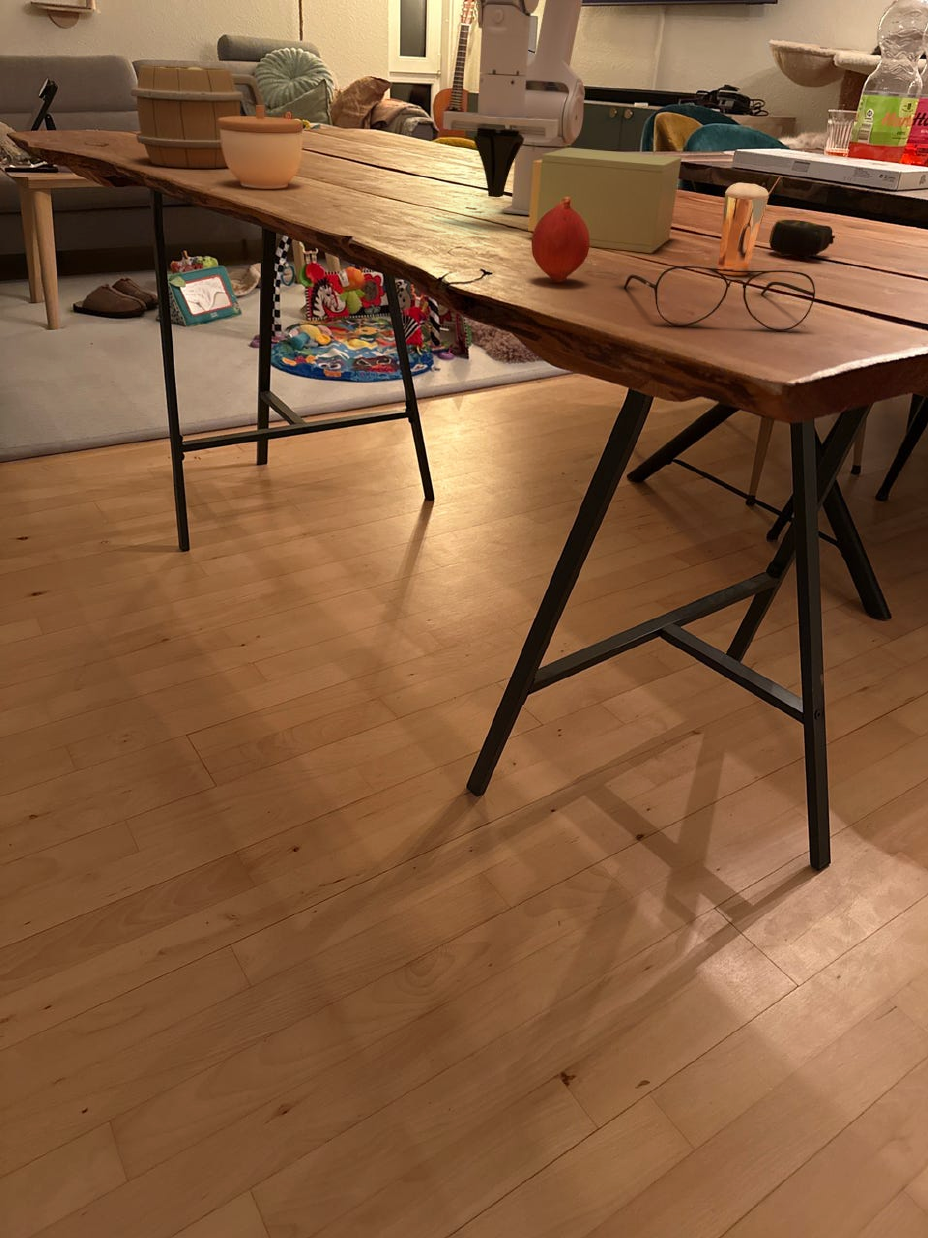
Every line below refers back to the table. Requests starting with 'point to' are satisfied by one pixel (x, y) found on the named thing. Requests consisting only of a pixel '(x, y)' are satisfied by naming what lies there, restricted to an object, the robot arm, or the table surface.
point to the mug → (188, 112)
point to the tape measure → (800, 238)
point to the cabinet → (613, 195)
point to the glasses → (729, 286)
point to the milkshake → (741, 225)
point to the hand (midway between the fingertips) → (495, 196)
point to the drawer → (534, 195)
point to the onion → (560, 241)
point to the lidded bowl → (261, 149)
